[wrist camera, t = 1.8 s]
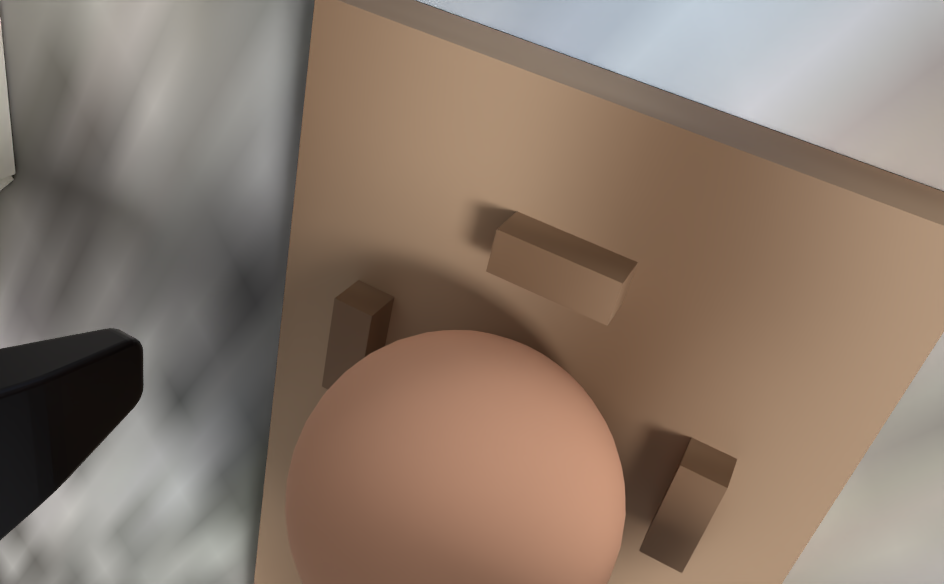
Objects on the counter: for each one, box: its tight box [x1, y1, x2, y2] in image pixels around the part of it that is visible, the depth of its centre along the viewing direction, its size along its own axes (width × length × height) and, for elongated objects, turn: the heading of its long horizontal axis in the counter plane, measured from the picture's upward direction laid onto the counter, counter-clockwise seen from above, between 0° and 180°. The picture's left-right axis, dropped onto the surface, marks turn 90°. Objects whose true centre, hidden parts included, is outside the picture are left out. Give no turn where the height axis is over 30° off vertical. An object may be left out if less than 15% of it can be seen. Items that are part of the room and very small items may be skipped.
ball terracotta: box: [285, 330, 626, 584], centre depth 10 cm, size 4×4×4 cm
